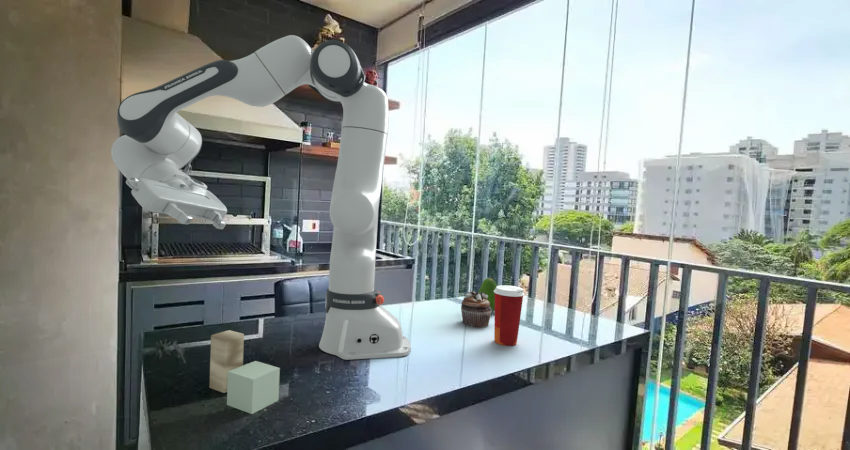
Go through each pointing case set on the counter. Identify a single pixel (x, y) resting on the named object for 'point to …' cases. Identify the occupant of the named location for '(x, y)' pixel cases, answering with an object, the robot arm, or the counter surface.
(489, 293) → the avocado
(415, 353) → the counter surface
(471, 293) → the cupcake
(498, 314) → the coffee cup
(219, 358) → the maple pillar
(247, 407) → the sage block
